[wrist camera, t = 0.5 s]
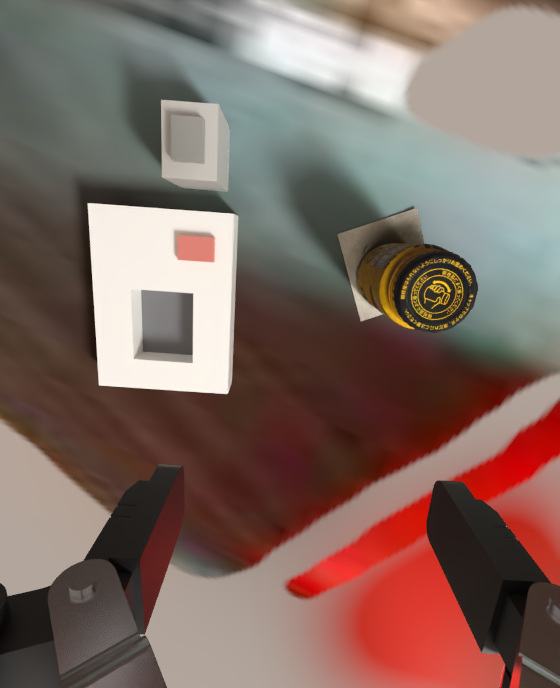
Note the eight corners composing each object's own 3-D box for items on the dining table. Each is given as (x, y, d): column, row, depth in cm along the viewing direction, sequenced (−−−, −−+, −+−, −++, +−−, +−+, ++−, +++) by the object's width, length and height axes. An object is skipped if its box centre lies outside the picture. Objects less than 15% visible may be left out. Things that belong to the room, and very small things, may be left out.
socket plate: (104, 206, 34) (83, 202, 30) (238, 216, 34) (233, 213, 30) (113, 374, 38) (95, 387, 34) (231, 382, 38) (226, 396, 34)
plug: (182, 125, 32) (157, 95, 25) (229, 128, 32) (216, 100, 25) (182, 188, 33) (158, 175, 27) (228, 191, 33) (214, 179, 27)
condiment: (360, 320, 36) (397, 358, 25) (337, 234, 34) (365, 230, 23) (434, 297, 36) (508, 325, 24) (415, 207, 34) (485, 190, 22)
